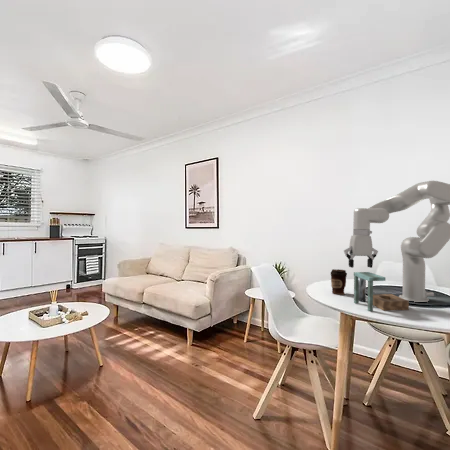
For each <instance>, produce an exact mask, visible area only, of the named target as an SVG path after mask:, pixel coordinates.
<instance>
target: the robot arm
mask: <svg viewBox="0 0 450 450" xmlns="http://www.w3.org/2000/svg"><path fill="white" fill-rule="evenodd" d="M427 199H429V200H428V201H429V203H430V208H431V209H430V212H429V213H428V215H426V217H425V218H424V219H423V221H421V223H420V224H419V225H418V226H417V228H416V235H417V236H418V237H417V236H410V237H405V238H404V239H403V240H402V242H401V244H400V252H401V257H402V294H399V295H398V297H400V298H402V299H405V300H408V301H414V302H413V303H415V302H427V303H429V302H428V301H430V299H429V298H428V297H435V293H434V292H433V291H432V292H431V291H430V292H428V291H426V262H425V259H432V258H434V257H436V256H437V255H438V254H439V253H440V251H441V250H443V249H444V246H446V244H448V242H450V223H449V222H448V221H449V220H450V208H449V205H450V183H446V182H443V181H438V180H428V181H421V182H418V183H415V184H414V185H412V186H411V187H408V188H406V189H405V190H403V191H401V192H399V193H397V194H395V195H393V196H391V197H388V198H387V199H384V200H381V201H379V202H378V203H377V202H376V203H375V204H373V205H371V206H369V207H368V208H359V207H357V208H355V209H354V210H353V227H352V229H353V230H352V235H351V236H350V240H349V245H348V246H349V247H347V248H345V249H344V250H343V253H344V254H345V257H346V258H347V259H348V267H349V268H352V269H353V268H354V265H355V264H354V261H355V260H354V258H355V257H367V261H366V262H367V268H371V269H372V268H373V263H374V260H375V258H376V257H377V255H378V254H379V250H378V249H376V248H373V241H372V236H371V234H372V233H373V231H372V230H371V224H383V223H385V222H387V221H388V220H389V218H390V214H393V213H398V212H403V211H405V210H408V209H409V208H411V207H413V206H415V205H417V204H418V203H420V202H422V201H424V200H427Z"/></svg>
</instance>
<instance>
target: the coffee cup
mask: <svg viewBox="0 0 450 450" xmlns="http://www.w3.org/2000/svg"><path fill="white" fill-rule="evenodd" d="M347 276H348V273H347V270H345V269H335V268H334V269H331V272H330V282H331V283H330V284H331V285H330V286H331V290H332V291H331V292H332V294H334V295H338V296H339V295H340V296H343V295H346V294H345V288H346V285H347Z"/></svg>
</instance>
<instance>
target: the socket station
mask: <svg viewBox="0 0 450 450" xmlns="http://www.w3.org/2000/svg"><path fill="white" fill-rule="evenodd" d="M359 278H362V279H365V280H366V281H367V311H368V312H374V307H375V308H378V309H380V310H381V311H409V310H410V309H409V308H410V302H409V301H408V300H405V299H402V298H400V297H399V296H397V295H395V294H392V293H382V294H381V293H380V294H378V293H377V294H374V282H384V281H385V282H386V277H385V276H382V275H379V274H376V273H372V272H371V271H357V272H356V271H355V272H353V303H354V304H355V305H358V304H359V302H360V301H359Z"/></svg>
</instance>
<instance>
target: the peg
mask: <svg viewBox="0 0 450 450" xmlns="http://www.w3.org/2000/svg"><path fill="white" fill-rule="evenodd" d="M366 293H367V280H365V279H362V278H359V302H362V303H363V302H364V303H365V302H366V301H367V296H366V295H367V294H366Z"/></svg>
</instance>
